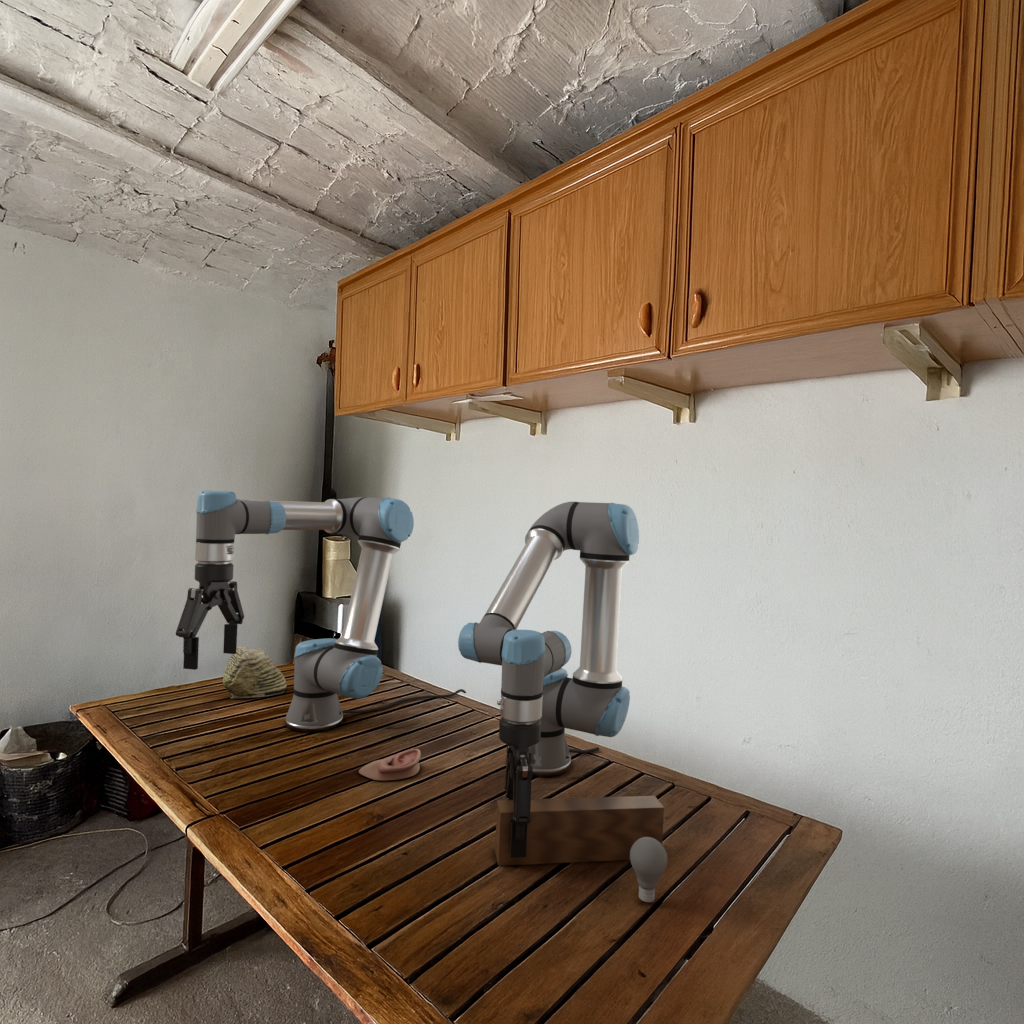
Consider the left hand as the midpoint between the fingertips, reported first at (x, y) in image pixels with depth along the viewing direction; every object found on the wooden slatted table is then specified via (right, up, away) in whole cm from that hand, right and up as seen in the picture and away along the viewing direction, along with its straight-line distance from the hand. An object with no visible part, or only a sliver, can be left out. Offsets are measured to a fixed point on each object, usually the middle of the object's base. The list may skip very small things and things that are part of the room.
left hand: (211, 660), depth 136 cm
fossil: (-16, -25, +62) cm, 68 cm away
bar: (+77, -31, -20) cm, 85 cm away
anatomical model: (+36, -28, +11) cm, 48 cm away
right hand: (+65, -28, -22) cm, 74 cm away
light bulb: (+87, -32, -33) cm, 98 cm away
